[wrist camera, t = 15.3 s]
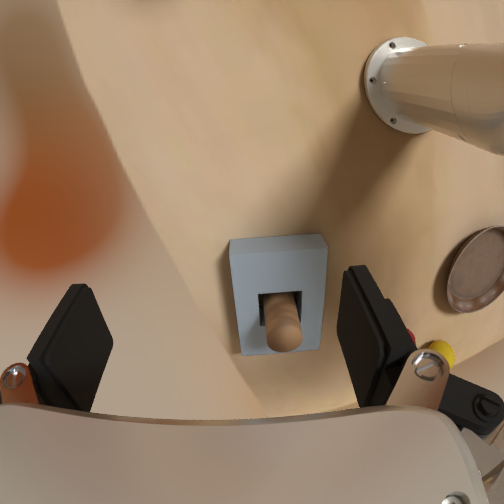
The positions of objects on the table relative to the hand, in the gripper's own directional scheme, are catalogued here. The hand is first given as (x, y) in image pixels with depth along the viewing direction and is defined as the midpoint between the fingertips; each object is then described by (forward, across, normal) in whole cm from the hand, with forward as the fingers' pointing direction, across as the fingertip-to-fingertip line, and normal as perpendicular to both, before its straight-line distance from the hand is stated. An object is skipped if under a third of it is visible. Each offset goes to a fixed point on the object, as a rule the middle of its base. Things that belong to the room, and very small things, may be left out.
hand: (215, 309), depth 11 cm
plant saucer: (+29, -41, +20) cm, 54 cm away
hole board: (+28, -4, +21) cm, 36 cm away
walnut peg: (+28, -4, +21) cm, 36 cm away
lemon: (+28, -36, +38) cm, 60 cm away
